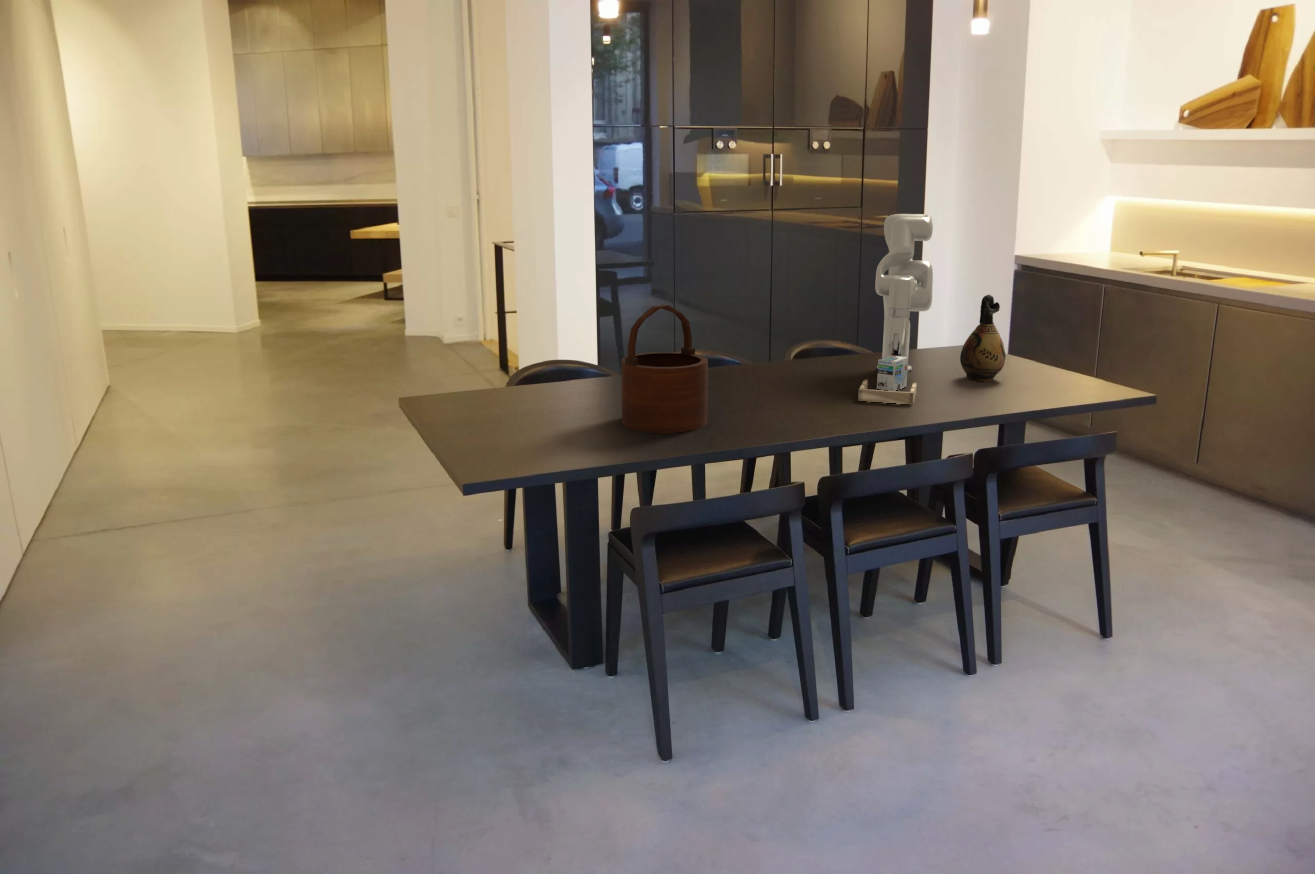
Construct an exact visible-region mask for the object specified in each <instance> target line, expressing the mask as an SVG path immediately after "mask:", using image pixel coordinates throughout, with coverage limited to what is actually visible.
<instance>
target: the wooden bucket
mask: <svg viewBox="0 0 1315 874" xmlns="http://www.w3.org/2000/svg"><path fill="white" fill-rule="evenodd" d="M659 310H665V311H667V312H669V313H672V314H674V315H675V316H676V318H678V320H679V321H680V322H681V327H682V334H683V346H682V347H680V352H678V351H677V352H676V351H655V352H654V351H652V352H641V353H636V345H637V339H638V335H639V333H638V332H639V329H640V328H641V326H642V325H643V324H644V322H645V321H646V319H648V318H649V317H651V316H653V314H655V313H657V312H658V311H659ZM692 337H693V336H692V331H691V325H690V321H689V320H688V319H687V317H686V316H685V315H684V314H683V313H682V312H681V311H679V310H678V309H675V308H674V307H672V306H671V305H668V304H659V305H653V306H650V308H649V309H647V310H646V311H645V312H644V313H643V314H642V315H641V316H639V317H638V318H637V320H636V321H635V322H634V324H633V325H632V327H631V328H630V333H629V337H628V344H627V355H626V356H624V357H623V358H622V359H621V424H622V425H623V427H625V428H626V429H630V430H632V431H635V430H637V431H636V432H640V431H642V433H647V432H651V433H650V434H675V433H674V432H683V433H687V432H686V431H689V432H692V431H691V430H695V431H697V430H696V429H698V430H700V429H699V428H701V429H703V428H705V427H706V426H707V425H708V408H709V406H708V403H709V402H708V399H709V397H708V396H709V395H708V394H709V393H708V392H709V384H708V383H709V379H708V378H709V358H707V357H705V356H703V355H699V354H696V347H693V344H692V343H693V342H692V341H693V340H692V339H693V338H692ZM706 424H707V425H706ZM705 425H706V426H705ZM704 426H705V427H704ZM702 427H703V428H702Z"/></svg>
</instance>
